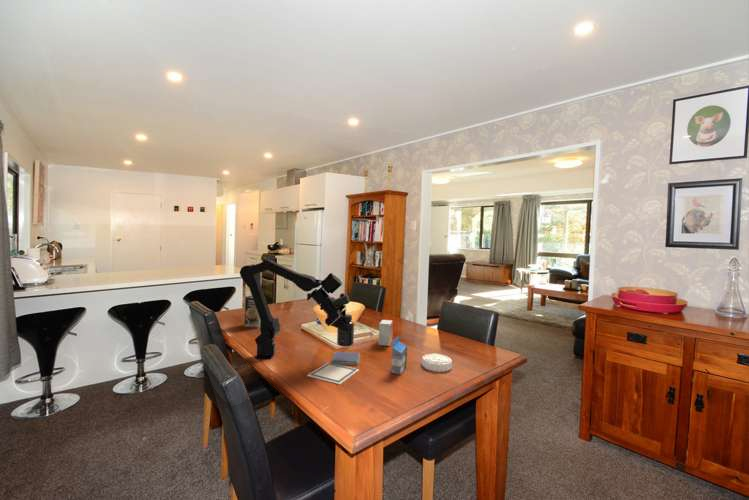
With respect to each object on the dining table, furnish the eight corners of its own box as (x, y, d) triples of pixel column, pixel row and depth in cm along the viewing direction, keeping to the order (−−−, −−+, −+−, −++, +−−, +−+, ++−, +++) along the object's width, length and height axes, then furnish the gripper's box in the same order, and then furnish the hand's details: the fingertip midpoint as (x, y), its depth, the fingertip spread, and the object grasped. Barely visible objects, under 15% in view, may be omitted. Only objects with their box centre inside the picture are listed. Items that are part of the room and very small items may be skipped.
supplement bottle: (340, 341, 139) (342, 313, 139) (355, 343, 137) (357, 314, 137) (334, 345, 133) (335, 315, 133) (349, 347, 131) (350, 317, 131)
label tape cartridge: (400, 375, 123) (401, 342, 122) (390, 373, 124) (391, 341, 124) (406, 366, 131) (407, 336, 131) (397, 365, 132) (398, 335, 132)
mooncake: (429, 373, 126) (429, 364, 126) (417, 361, 137) (417, 353, 137) (457, 371, 129) (457, 362, 129) (443, 359, 141) (443, 351, 140)
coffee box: (244, 326, 179) (244, 297, 179) (250, 323, 186) (250, 295, 185) (259, 328, 178) (260, 298, 177) (265, 325, 184) (265, 296, 183)
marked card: (307, 375, 119) (307, 374, 119) (328, 363, 132) (328, 361, 132) (339, 384, 113) (339, 383, 113) (359, 370, 126) (359, 369, 126)
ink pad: (330, 364, 131) (330, 360, 131) (334, 354, 142) (335, 351, 142) (358, 365, 131) (358, 362, 131) (360, 355, 142) (360, 352, 142)
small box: (389, 346, 155) (390, 324, 154) (378, 345, 156) (379, 323, 156) (392, 341, 163) (393, 320, 162) (381, 340, 164) (382, 319, 163)
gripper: (334, 291, 125) (362, 321, 125) (342, 284, 144) (366, 310, 144) (313, 310, 126) (340, 340, 126) (323, 301, 145) (347, 327, 144)
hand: (349, 328), depth 135 cm, fingers closed on supplement bottle, 7 cm apart
